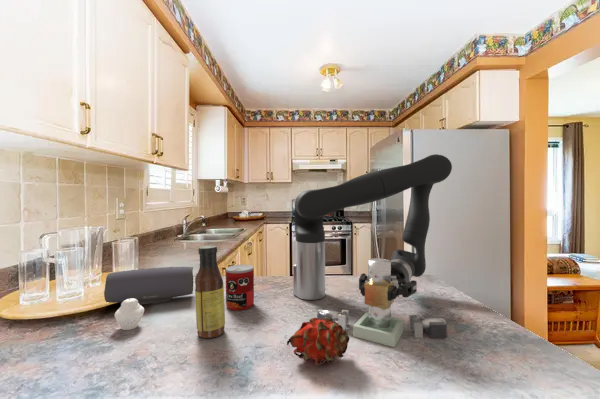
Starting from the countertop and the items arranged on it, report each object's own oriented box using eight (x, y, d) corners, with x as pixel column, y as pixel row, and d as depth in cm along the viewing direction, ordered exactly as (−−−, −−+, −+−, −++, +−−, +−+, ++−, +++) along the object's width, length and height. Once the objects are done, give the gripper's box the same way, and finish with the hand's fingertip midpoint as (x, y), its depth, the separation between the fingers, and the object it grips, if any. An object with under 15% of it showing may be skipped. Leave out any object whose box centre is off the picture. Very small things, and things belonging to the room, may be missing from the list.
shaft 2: (415, 338, 63) (415, 322, 63) (408, 329, 68) (408, 314, 68) (448, 338, 63) (448, 323, 63) (439, 329, 68) (439, 314, 68)
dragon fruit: (355, 371, 54) (292, 378, 55) (347, 328, 61) (291, 335, 62) (353, 349, 49) (283, 357, 50) (344, 305, 56) (283, 312, 57)
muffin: (140, 319, 74) (139, 292, 74) (147, 327, 69) (147, 298, 69) (111, 327, 69) (111, 298, 69) (118, 335, 65) (118, 304, 65)
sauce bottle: (230, 329, 68) (229, 245, 68) (214, 341, 62) (213, 249, 62) (207, 325, 70) (206, 243, 70) (189, 337, 64) (188, 248, 64)
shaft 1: (349, 324, 71) (349, 310, 71) (344, 331, 67) (344, 317, 67) (321, 319, 73) (321, 306, 73) (315, 326, 69) (315, 312, 69)
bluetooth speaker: (193, 292, 95) (193, 262, 95) (192, 302, 86) (192, 268, 86) (113, 300, 88) (113, 267, 88) (103, 312, 79) (103, 275, 79)
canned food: (220, 308, 81) (220, 269, 81) (236, 299, 88) (236, 263, 88) (243, 312, 78) (243, 272, 78) (258, 302, 85) (258, 265, 85)
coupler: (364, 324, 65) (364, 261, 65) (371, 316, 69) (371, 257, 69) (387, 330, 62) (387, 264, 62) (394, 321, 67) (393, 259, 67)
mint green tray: (353, 336, 64) (353, 325, 64) (366, 321, 72) (366, 311, 72) (394, 347, 60) (394, 335, 60) (404, 330, 67) (404, 319, 67)
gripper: (368, 258, 82) (345, 272, 67) (423, 264, 74) (410, 281, 60) (369, 285, 82) (345, 304, 67) (423, 293, 74) (410, 318, 60)
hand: (376, 293), depth 64 cm, fingers closed on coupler, 5 cm apart
